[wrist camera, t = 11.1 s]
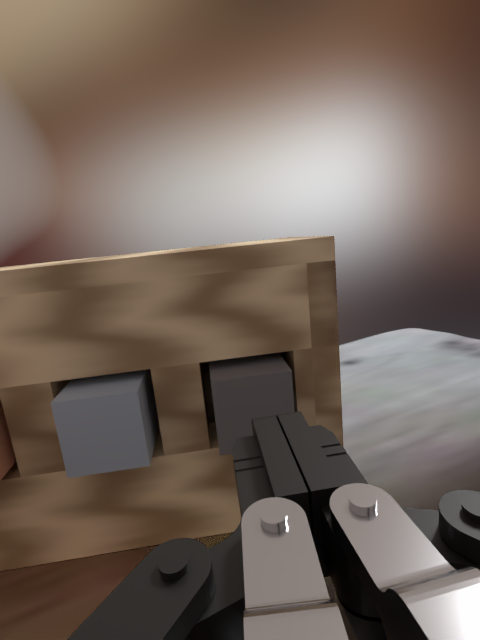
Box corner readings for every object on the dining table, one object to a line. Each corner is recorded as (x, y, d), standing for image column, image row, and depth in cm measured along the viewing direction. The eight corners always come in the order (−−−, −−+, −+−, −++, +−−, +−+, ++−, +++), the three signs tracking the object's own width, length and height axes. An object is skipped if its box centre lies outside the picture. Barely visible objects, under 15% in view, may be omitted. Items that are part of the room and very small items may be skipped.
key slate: (161, 412, 25) (152, 353, 24) (149, 465, 19) (137, 391, 18) (99, 420, 24) (87, 362, 23) (67, 478, 18) (50, 402, 18)
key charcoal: (274, 396, 25) (269, 339, 24) (297, 443, 19) (291, 370, 18) (214, 404, 25) (207, 346, 24) (219, 455, 19) (210, 381, 18)
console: (304, 436, 31) (291, 237, 28) (346, 512, 22) (334, 236, 19) (-11, 483, 29) (-69, 274, 26) (-101, 587, 20) (-208, 292, 17)
